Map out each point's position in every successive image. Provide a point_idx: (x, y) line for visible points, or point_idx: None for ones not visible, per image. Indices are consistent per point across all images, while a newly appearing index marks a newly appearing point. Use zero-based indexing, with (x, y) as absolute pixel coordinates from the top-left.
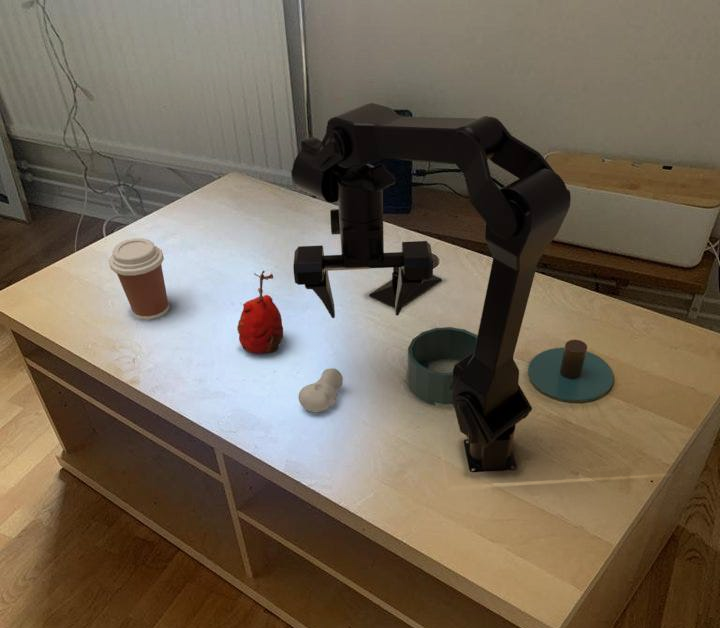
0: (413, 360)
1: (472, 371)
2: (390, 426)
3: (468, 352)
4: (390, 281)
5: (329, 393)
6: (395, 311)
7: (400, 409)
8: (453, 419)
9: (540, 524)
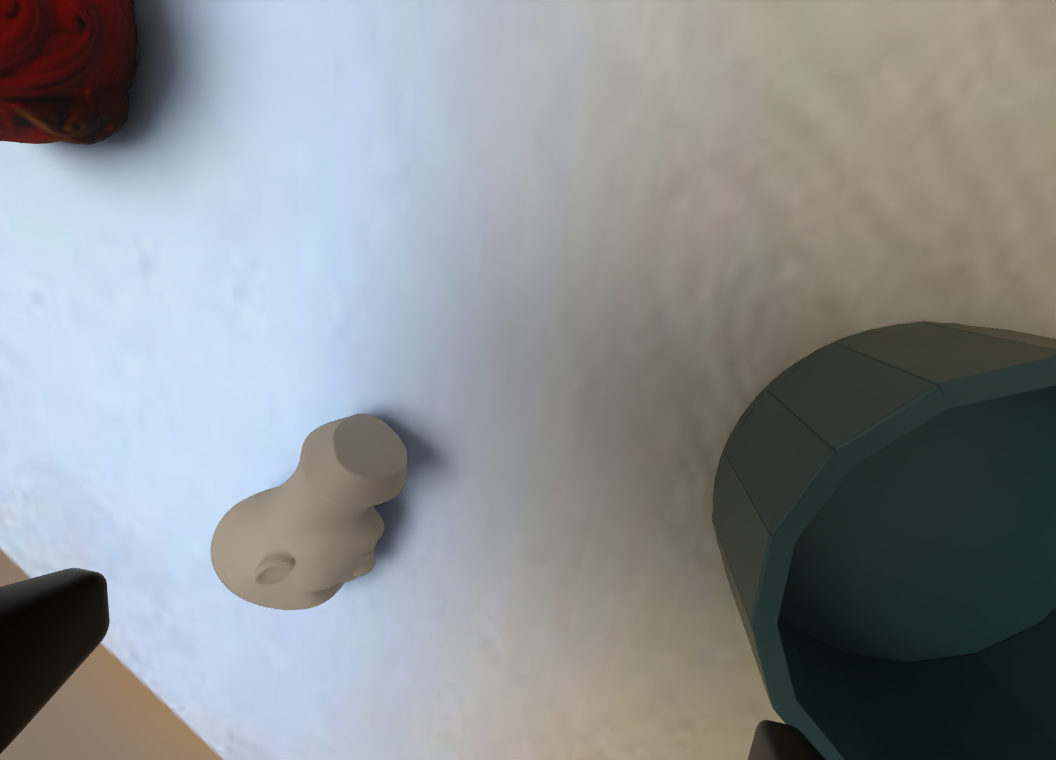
0: (768, 659)
1: None
2: (581, 692)
3: None
4: None
5: (333, 580)
6: (758, 758)
7: (640, 619)
8: None
9: None
